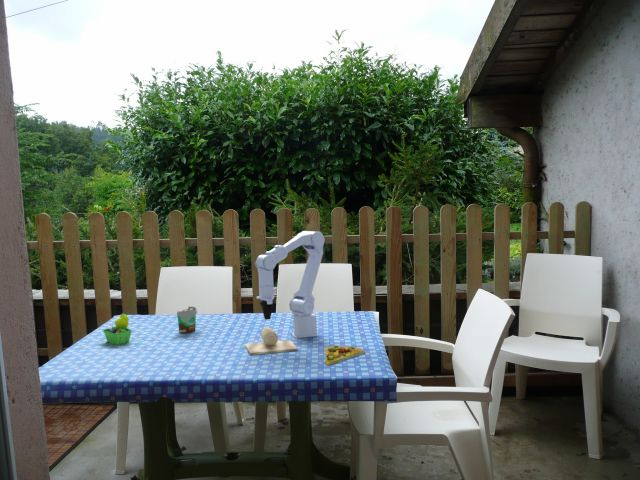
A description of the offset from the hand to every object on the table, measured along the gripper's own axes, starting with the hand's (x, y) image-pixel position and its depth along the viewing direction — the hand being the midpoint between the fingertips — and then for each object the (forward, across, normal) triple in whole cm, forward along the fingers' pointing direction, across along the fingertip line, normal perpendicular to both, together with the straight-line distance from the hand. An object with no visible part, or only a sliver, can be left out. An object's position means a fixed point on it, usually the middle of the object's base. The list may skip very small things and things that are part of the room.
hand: (267, 319), depth 223 cm
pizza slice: (+11, +28, +20) cm, 36 cm away
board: (+10, +7, 0) cm, 12 cm away
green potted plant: (+10, -25, -58) cm, 64 cm away
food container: (+10, -33, -29) cm, 45 cm away
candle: (+6, -2, 0) cm, 7 cm away
